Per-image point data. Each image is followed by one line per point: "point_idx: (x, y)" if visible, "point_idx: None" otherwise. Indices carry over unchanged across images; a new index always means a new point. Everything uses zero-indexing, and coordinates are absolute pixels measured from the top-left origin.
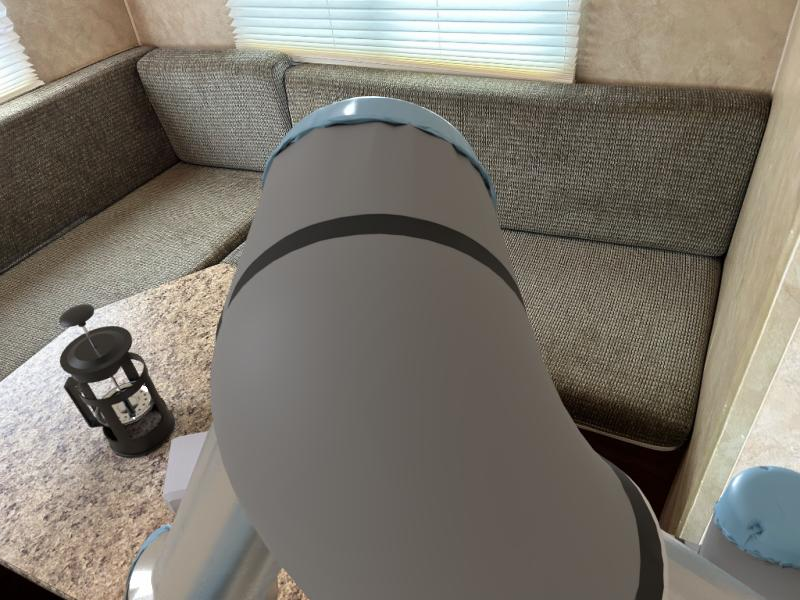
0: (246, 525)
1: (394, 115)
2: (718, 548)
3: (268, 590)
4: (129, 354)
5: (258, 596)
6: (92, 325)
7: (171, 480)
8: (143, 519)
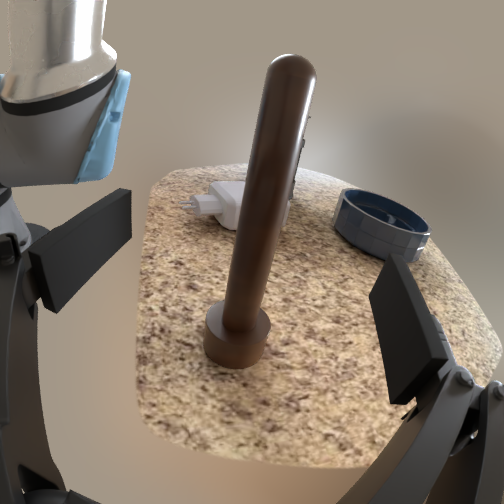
0: None
1: None
2: None
3: (34, 78)
4: (303, 140)
5: (9, 20)
6: (327, 176)
7: (226, 181)
8: None
